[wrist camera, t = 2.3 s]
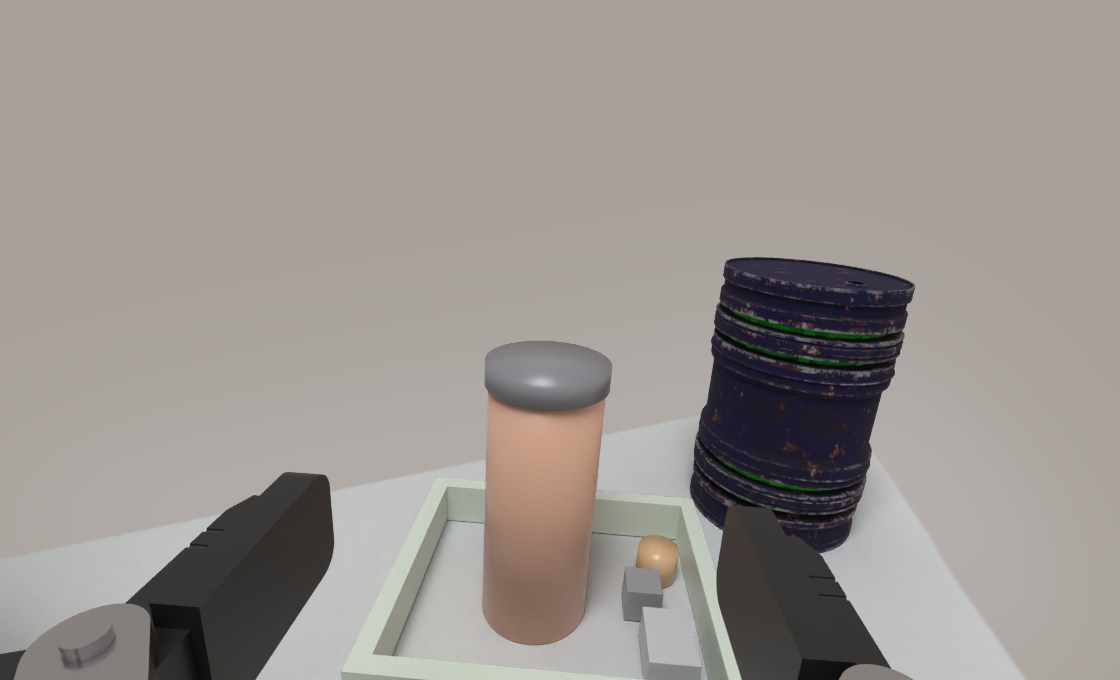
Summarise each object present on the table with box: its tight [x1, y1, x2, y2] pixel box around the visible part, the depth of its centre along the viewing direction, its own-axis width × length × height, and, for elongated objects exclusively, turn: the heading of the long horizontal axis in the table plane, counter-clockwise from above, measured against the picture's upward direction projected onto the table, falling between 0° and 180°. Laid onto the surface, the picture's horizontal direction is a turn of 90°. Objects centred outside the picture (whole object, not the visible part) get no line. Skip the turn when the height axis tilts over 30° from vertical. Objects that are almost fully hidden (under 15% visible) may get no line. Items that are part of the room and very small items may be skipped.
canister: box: [482, 341, 612, 645], centre depth 24 cm, size 5×5×12 cm
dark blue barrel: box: [690, 257, 915, 553], centre depth 32 cm, size 10×10×15 cm
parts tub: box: [341, 477, 742, 680], centre depth 25 cm, size 15×13×2 cm
